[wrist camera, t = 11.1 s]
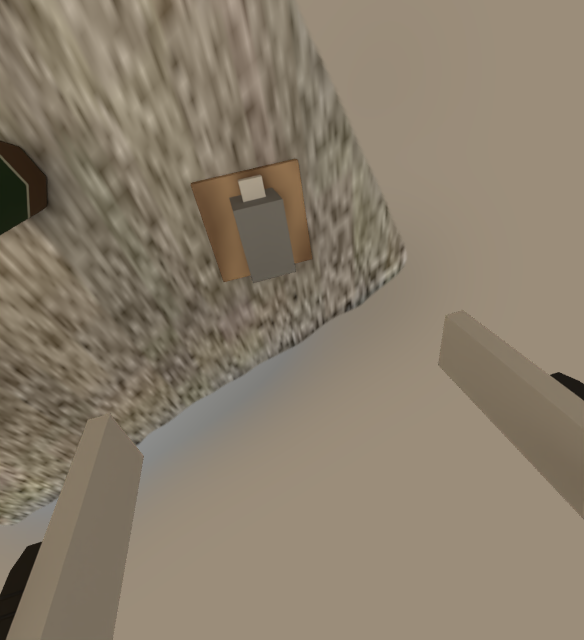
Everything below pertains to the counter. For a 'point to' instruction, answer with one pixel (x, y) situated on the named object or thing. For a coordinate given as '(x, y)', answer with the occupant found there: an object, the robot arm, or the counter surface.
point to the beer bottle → (19, 187)
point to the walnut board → (222, 221)
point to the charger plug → (263, 229)
